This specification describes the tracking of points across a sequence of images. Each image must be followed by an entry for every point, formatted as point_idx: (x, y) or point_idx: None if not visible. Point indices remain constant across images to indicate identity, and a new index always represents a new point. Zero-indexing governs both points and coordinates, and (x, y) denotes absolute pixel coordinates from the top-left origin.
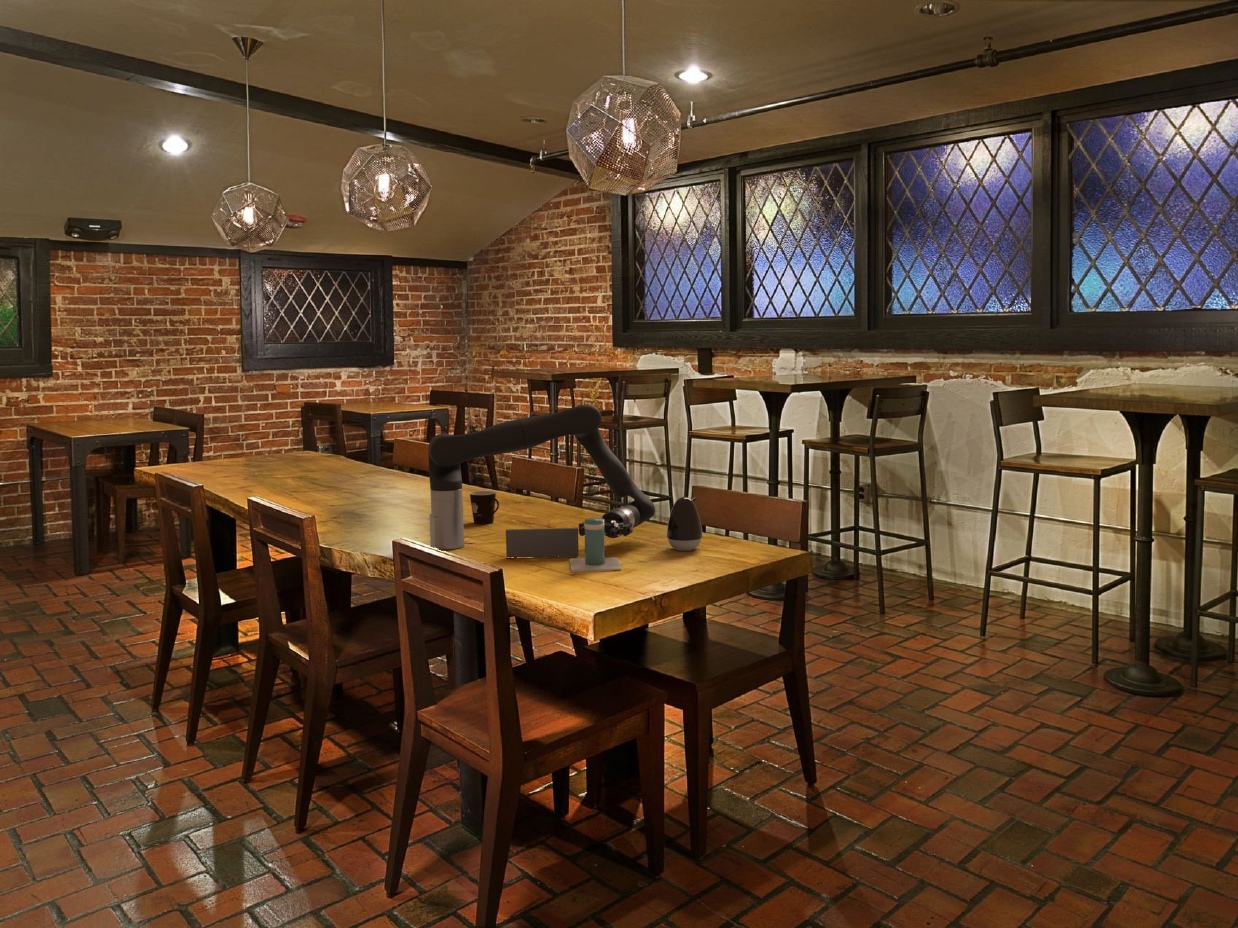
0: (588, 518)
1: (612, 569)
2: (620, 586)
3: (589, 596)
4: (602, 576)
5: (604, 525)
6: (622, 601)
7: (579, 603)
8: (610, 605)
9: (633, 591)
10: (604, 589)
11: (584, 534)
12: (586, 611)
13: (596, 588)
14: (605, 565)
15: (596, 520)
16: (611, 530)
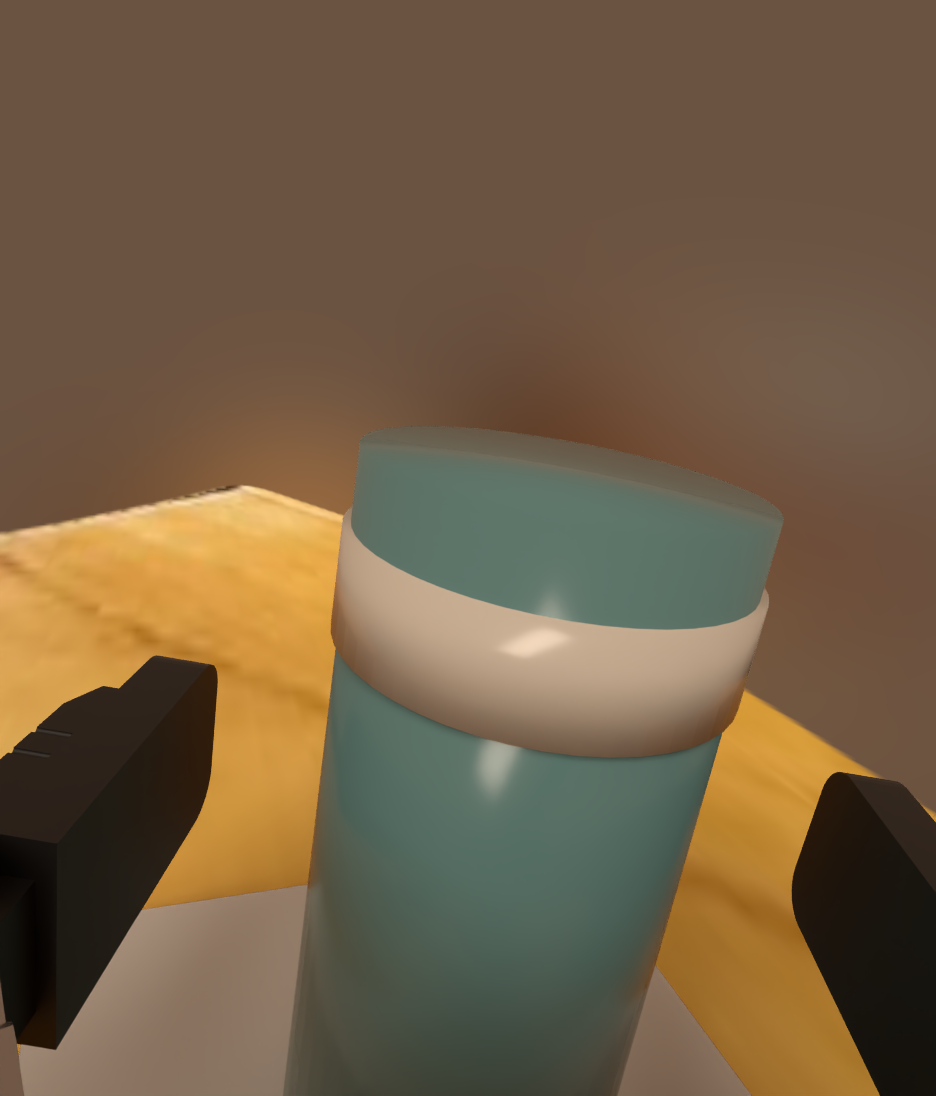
0: (726, 504)
1: (151, 916)
2: (117, 628)
3: (282, 559)
4: (251, 774)
5: (339, 592)
6: (132, 523)
7: (308, 527)
8: (185, 510)
9: (51, 580)
10: (217, 604)
11: (832, 969)
12: (268, 496)
13: (264, 614)
14: (248, 1041)
15: (475, 437)
16: (171, 660)
